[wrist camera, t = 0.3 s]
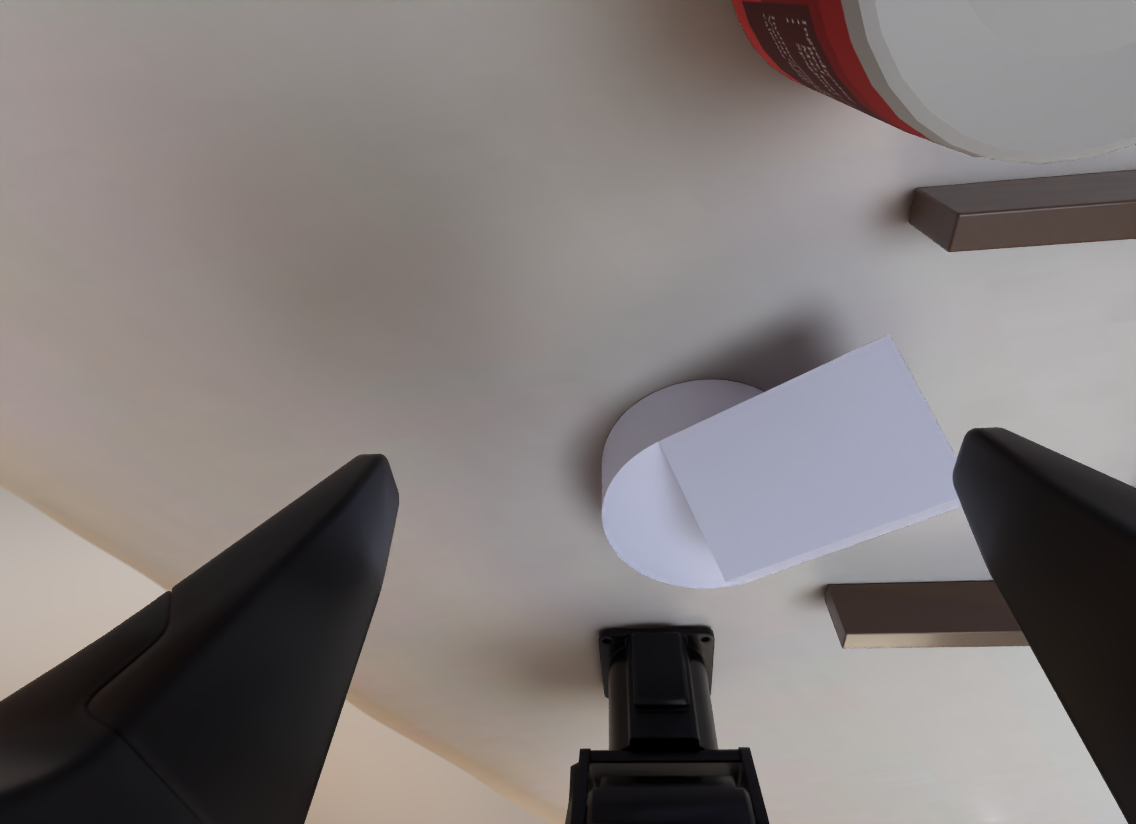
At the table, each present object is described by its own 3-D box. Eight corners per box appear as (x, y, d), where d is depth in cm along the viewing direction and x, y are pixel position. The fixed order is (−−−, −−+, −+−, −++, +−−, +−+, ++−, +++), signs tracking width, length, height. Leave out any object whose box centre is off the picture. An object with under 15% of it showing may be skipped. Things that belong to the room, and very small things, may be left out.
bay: (1130, 592, 31) (1176, 644, 28) (823, 599, 32) (842, 648, 30) (1426, 145, 19) (1549, 167, 16) (915, 187, 20) (958, 213, 18)
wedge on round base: (853, 292, 22) (564, 437, 27) (936, 388, 17) (553, 550, 21) (922, 454, 26) (660, 556, 31) (1006, 574, 21) (673, 678, 25)
